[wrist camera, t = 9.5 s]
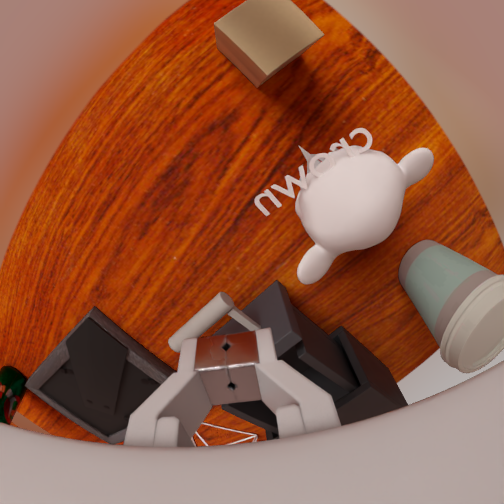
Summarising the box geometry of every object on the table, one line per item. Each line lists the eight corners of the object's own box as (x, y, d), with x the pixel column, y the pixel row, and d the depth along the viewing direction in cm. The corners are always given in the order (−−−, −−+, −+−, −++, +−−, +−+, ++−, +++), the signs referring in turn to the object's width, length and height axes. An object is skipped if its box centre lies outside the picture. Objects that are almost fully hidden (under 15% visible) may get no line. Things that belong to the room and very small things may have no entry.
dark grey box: (259, 385, 32) (267, 448, 24) (341, 325, 29) (371, 386, 21) (317, 416, 36) (332, 467, 28) (388, 368, 33) (415, 418, 25)
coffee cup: (382, 308, 29) (439, 392, 18) (389, 232, 25) (472, 304, 14) (444, 292, 29) (506, 358, 18) (456, 221, 25) (538, 276, 14)
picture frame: (94, 305, 26) (28, 378, 30) (87, 317, 24) (23, 387, 29) (207, 392, 32) (114, 437, 36) (206, 405, 30) (111, 447, 34)
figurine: (392, 164, 24) (340, 78, 18) (459, 212, 18) (427, 106, 12) (301, 253, 27) (223, 192, 21) (347, 321, 21) (263, 266, 15)
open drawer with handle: (161, 322, 26) (147, 376, 20) (239, 246, 24) (244, 293, 18) (270, 391, 31) (278, 441, 25) (344, 339, 29) (367, 387, 23)
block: (261, 15, 17) (273, -16, 12) (300, 54, 19) (325, 34, 13) (216, 48, 18) (213, 23, 13) (256, 88, 20) (267, 76, 14)
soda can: (0, 370, 30) (-32, 426, 19) (6, 358, 29) (-29, 418, 18) (24, 391, 32) (-3, 449, 21) (33, 381, 31) (2, 444, 20)
